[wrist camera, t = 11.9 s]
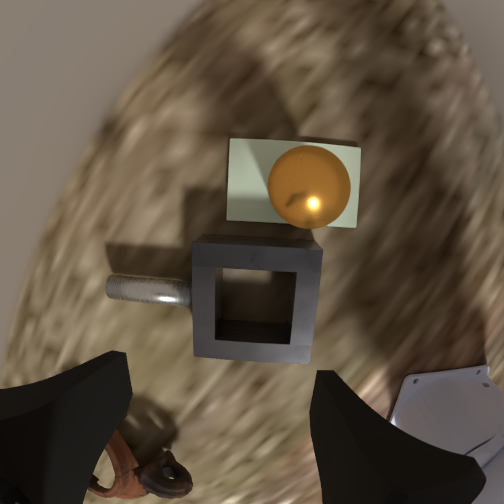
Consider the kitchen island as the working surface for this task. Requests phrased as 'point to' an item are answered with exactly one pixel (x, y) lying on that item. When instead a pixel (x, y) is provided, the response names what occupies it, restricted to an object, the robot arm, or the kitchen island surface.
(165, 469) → the brown looped band
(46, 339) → the kitchen island surface
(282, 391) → the kitchen island surface
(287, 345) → the grey square with handle
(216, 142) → the kitchen island surface
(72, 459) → the robot arm
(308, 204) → the metal cylinder
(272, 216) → the mat
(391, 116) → the kitchen island surface
